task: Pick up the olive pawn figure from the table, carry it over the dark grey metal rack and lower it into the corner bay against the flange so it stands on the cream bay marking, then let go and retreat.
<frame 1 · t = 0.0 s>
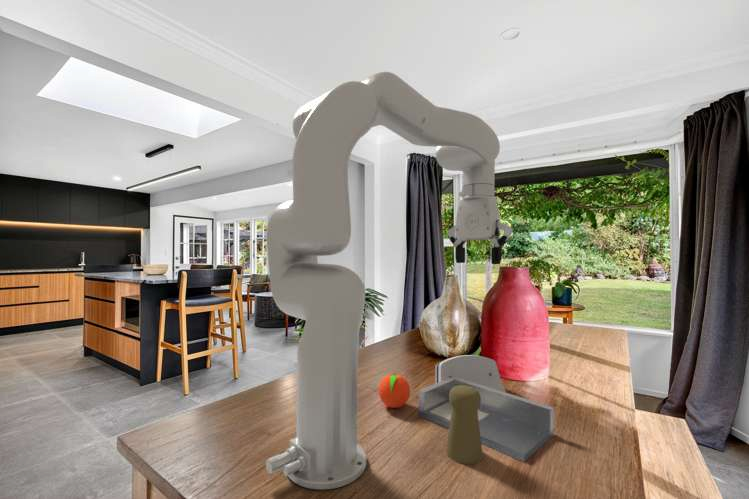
hand: (477, 263, 87), 31 cm above the table, tool pointing down, fingers open, 9 cm apart
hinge: (468, 393, 87), on the table
clementine: (393, 408, 77), on the table
olive pawn figure: (464, 454, 60), on the table
rack: (482, 424, 70), on the table
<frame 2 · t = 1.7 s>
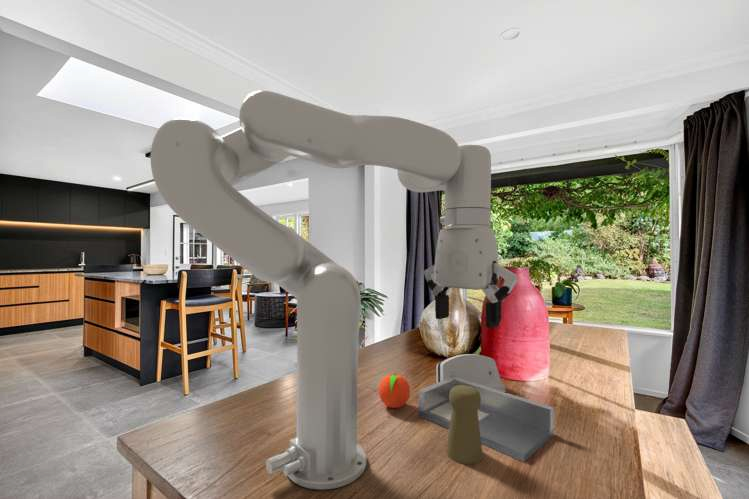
hand: (466, 322, 60), 22 cm above the table, tool pointing down, fingers open, 9 cm apart
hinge: (468, 392, 87), on the table, touching rack
everything else where it was.
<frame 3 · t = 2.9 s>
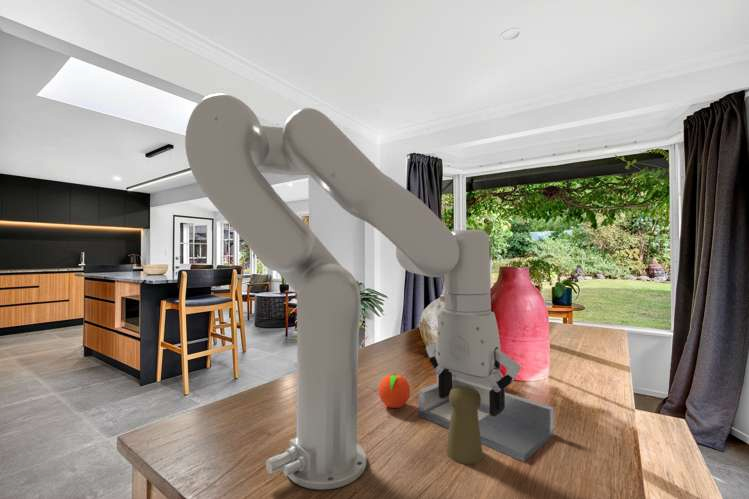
hand: (469, 404, 60), 8 cm above the table, tool pointing down, fingers open, 9 cm apart
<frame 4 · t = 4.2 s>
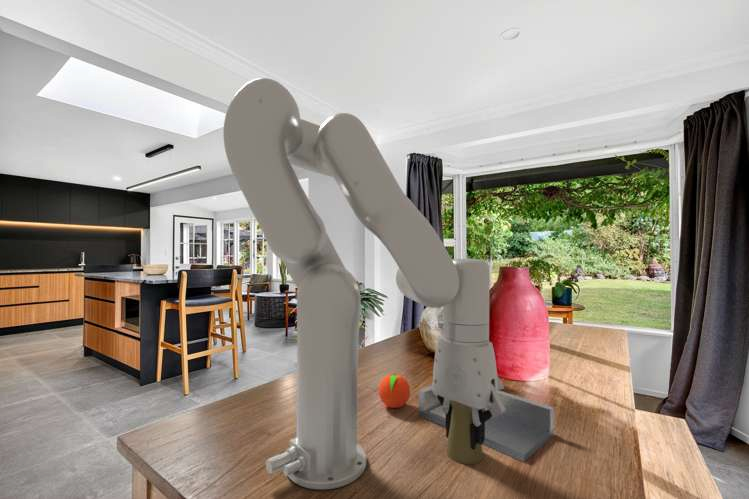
hand: (464, 439, 60), 2 cm above the table, tool pointing down, fingers closed on olive pawn figure, 3 cm apart
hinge: (468, 391, 88), on the table
olive pawn figure: (464, 454, 60), on the table, touching gripper
everything else where it was.
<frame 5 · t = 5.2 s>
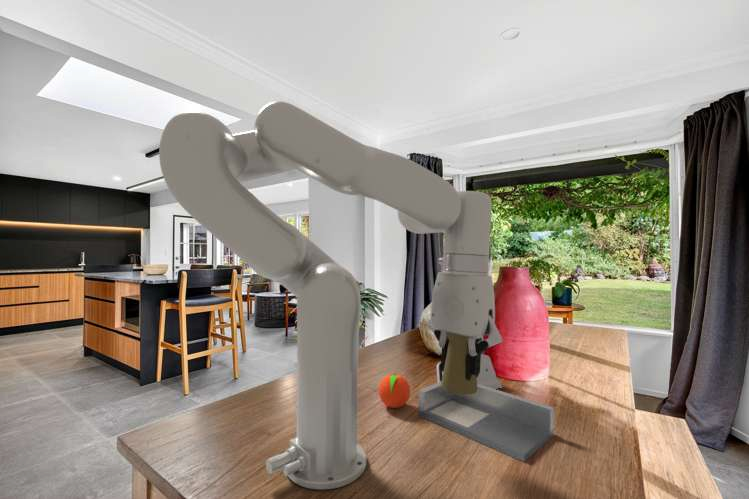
hand: (459, 373, 60), 13 cm above the table, tool pointing down, fingers closed on olive pawn figure, 3 cm apart
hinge: (467, 390, 89), on the table, touching rack
olive pawn figure: (458, 388, 60), point 11 cm above the table, touching gripper
everything else where it was.
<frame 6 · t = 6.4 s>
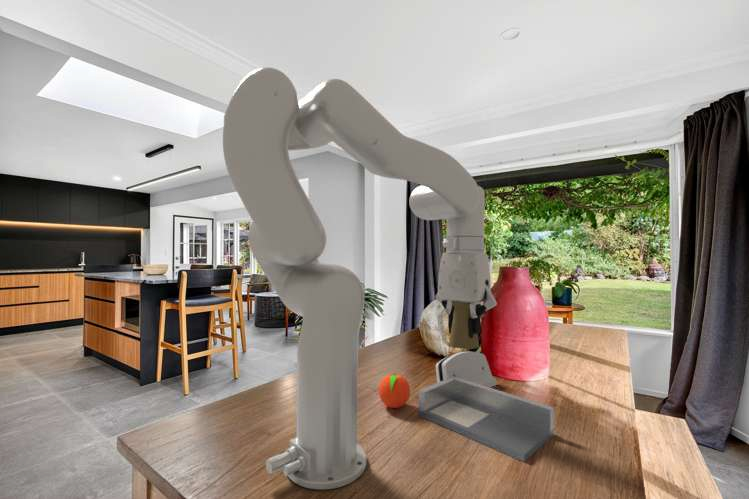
hand: (463, 333, 73), 17 cm above the table, tool pointing down, fingers closed on olive pawn figure, 3 cm apart
olive pawn figure: (463, 345, 73), point 15 cm above the table, touching gripper
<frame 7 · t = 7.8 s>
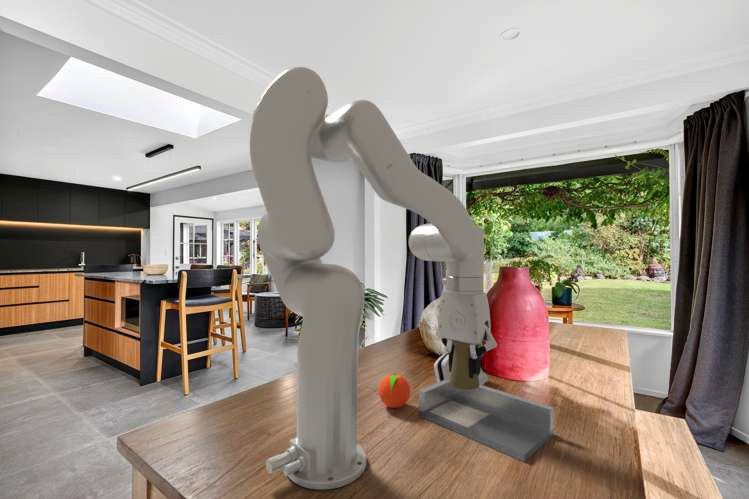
hand: (464, 372, 73), 9 cm above the table, tool pointing down, fingers closed on olive pawn figure, 3 cm apart
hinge: (460, 387, 90), on the table
olive pawn figure: (464, 384, 73), point 6 cm above the table, touching gripper
everything else where it was.
when the fingers open (4 cm above the table, at t = 9.0 s): olive pawn figure stays where it is, resting on rack.
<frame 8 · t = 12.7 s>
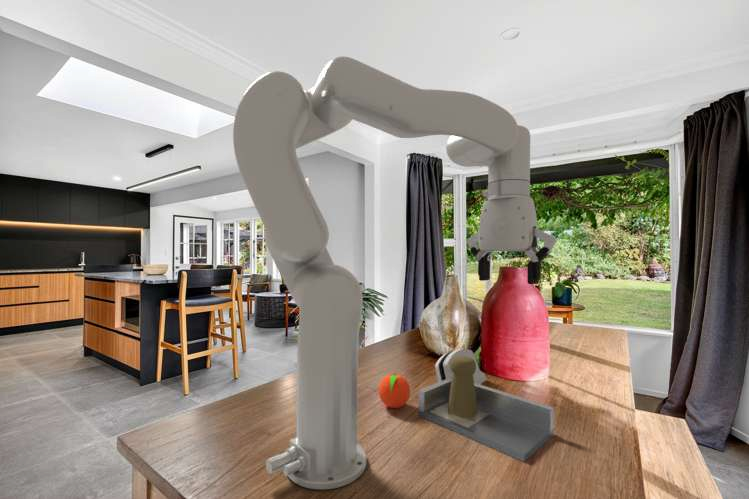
hand: (507, 281, 68), 28 cm above the table, tool pointing down, fingers open, 9 cm apart
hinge: (460, 387, 90), on the table, touching rack
olive pawn figure: (462, 411, 73), point 1 cm above the table, touching rack
everything else where it was.
at the end: olive pawn figure inside the target area (0.4 cm from its centre), point 1.0 cm above the table; olive pawn figure tilted 0°; the gripper is holding nothing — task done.
